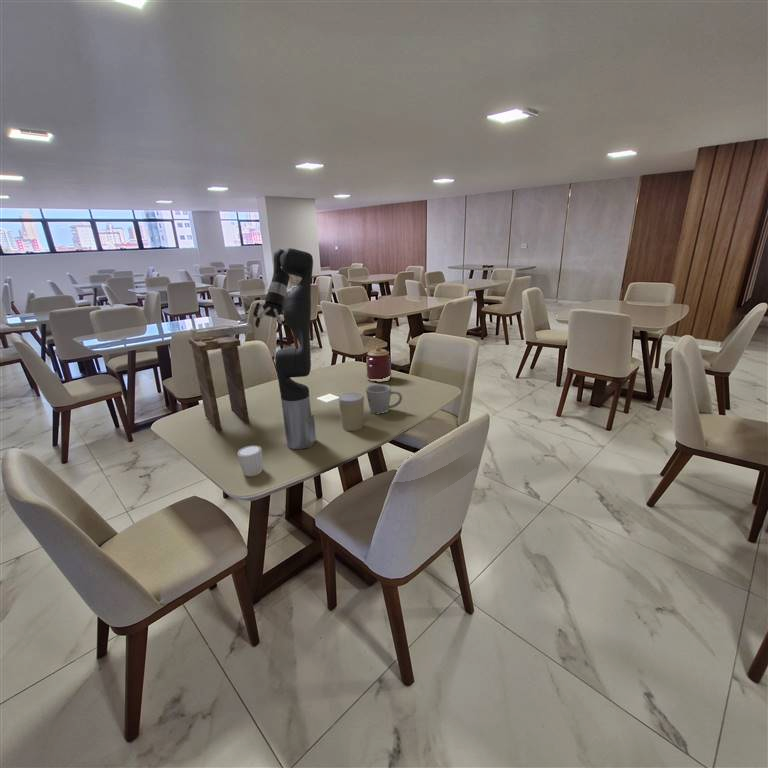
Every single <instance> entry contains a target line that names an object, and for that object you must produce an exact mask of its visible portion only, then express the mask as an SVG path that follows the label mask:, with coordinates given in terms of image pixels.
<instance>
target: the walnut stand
mask: <svg viewBox="0 0 768 768" xmlns="http://www.w3.org/2000/svg"><path fill="white" fill-rule="evenodd" d="M188 342H189V343H188V344H189V345H191V349H192V355H193V359H194V365H195V369H196V375H197V379H198V380H197V381H198V385H199V389H200V395H201V400H202V406H203V410H204V416H205V418H206V417H207V418H206V420H207V421H208V420H209V421H210V422H209V421H208V422H209V424H210V425H211V424H212V425H211V426H212V427H213V429H214V428H215V429H214V430H215V431H216V432H218V430H219V431H222V423H221V417H220V412H219V405H218V401H217V397H216V392H215V385H214V379H213V375H212V369H211V363H210V359H209V352H208V351H215V350H221V356H222V357H221V358H222V361H223V362H222V363H223V368H224V375H225V379H226V385H227V391H228V398H229V402H230V403H229V404H230V408H231V412H232V411H233V412H234V413H235V414H236V415H237V416H238V417H239V418H240V419H241V420H240V421H241V422H242V423H243V424H244V423H245V424H248V422H249V423H250V418H249V411H248V405H247V399H246V392H245V386H244V380H243V379H244V378H243V374H242V367H241V360H240V355H239V349H238V348H239V347H240V346H241V340H240V339H239V338H236V337H234V336H233V335H231V336H223V337H216V338H213V337H210V338H202V339H201V340H193V338H192V337H188ZM233 412H232V413H233ZM234 413H233V414H234ZM235 414H234V415H235ZM236 415H235V416H236ZM237 416H236V417H237ZM238 417H237V418H238ZM239 418H238V419H239Z"/></svg>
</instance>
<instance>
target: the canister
mask: <svg viewBox="0 0 768 768" xmlns="http://www.w3.org/2000/svg"><path fill="white" fill-rule="evenodd" d="M366 354H367V356H366V357H365V359H366V378H367V377H368V378H369V379H383V378H386V377H388V376H390V375H391V376H392V363H391V362H392V361H391V358H392V357H391V355H390V352H389V351H388V350H386V349H383V348H381V346H379V345H378V346H376V347H375V348H373V349H371V350H369V351H368V352H367V353H366Z"/></svg>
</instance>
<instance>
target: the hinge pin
mask: <svg viewBox="0 0 768 768" xmlns="http://www.w3.org/2000/svg"><path fill="white" fill-rule="evenodd" d="M190 332H191V338H193V340H201V339H202V338H210V337H213V338H216V337H223V336H237V335H243V334H251V333H253V326H252V324H242V325H235V326H226V327H218V328H211V329H210V328H209V329H201V330H200V329H199V330H197V329H196V328H195V327H193V328H190Z"/></svg>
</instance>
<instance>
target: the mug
mask: <svg viewBox="0 0 768 768" xmlns="http://www.w3.org/2000/svg"><path fill="white" fill-rule="evenodd" d="M365 392H366V396H367V397H366V398H367V401H368V406H369V412H370V413H371V412H374V413H382V412H385V411H387V410H388V409H389V410H390V409H393V408H396V407H397V406H399V405H400V404H401V403H402V401H403V396H402V394H401V393H400V391H395V390H393V391H392V387H391V386H390V385H387V384H381V383H380V384H372V385H369V386H367V387H365ZM393 394H394V395H398V396H399V399H398V400H397V402H395V403H394V404H391V405H390V401H391V395H393ZM374 413H373V414H374Z"/></svg>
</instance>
